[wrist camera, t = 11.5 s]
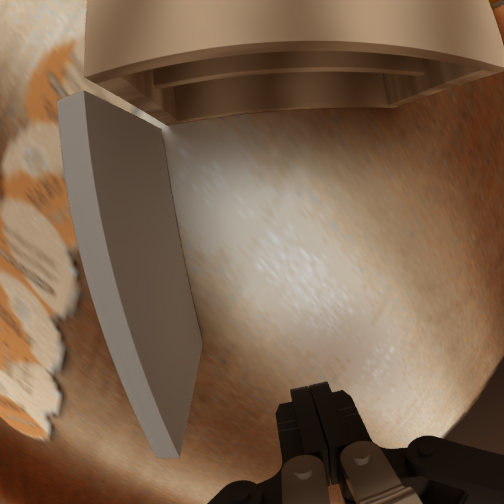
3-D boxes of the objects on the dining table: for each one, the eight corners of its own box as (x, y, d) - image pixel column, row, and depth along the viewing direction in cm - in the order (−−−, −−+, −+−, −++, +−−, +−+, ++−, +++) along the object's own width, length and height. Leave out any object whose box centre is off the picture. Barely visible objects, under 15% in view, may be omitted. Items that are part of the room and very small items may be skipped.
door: (129, 136, 21) (32, 111, 9) (161, 129, 21) (83, 90, 9) (174, 346, 25) (135, 457, 13) (203, 343, 25) (179, 458, 13)
